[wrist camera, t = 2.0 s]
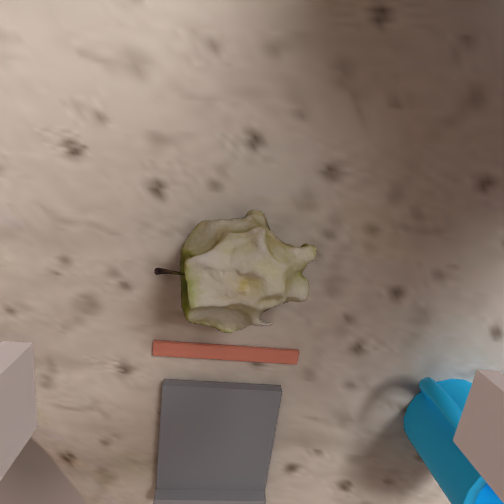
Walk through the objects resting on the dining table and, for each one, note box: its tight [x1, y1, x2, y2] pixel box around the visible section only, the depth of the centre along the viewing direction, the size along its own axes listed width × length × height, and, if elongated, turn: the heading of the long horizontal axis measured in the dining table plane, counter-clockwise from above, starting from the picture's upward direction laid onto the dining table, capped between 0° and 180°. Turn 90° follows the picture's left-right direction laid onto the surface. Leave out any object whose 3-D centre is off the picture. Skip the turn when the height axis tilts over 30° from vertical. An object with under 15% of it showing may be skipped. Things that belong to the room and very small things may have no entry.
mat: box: [153, 379, 282, 504], centre depth 30 cm, size 12×10×2 cm
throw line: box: [153, 340, 299, 364], centre depth 28 cm, size 1×12×1 cm, turn 83°
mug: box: [404, 378, 504, 504], centre depth 28 cm, size 12×8×8 cm
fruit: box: [154, 210, 317, 333], centre depth 23 cm, size 9×9×8 cm
